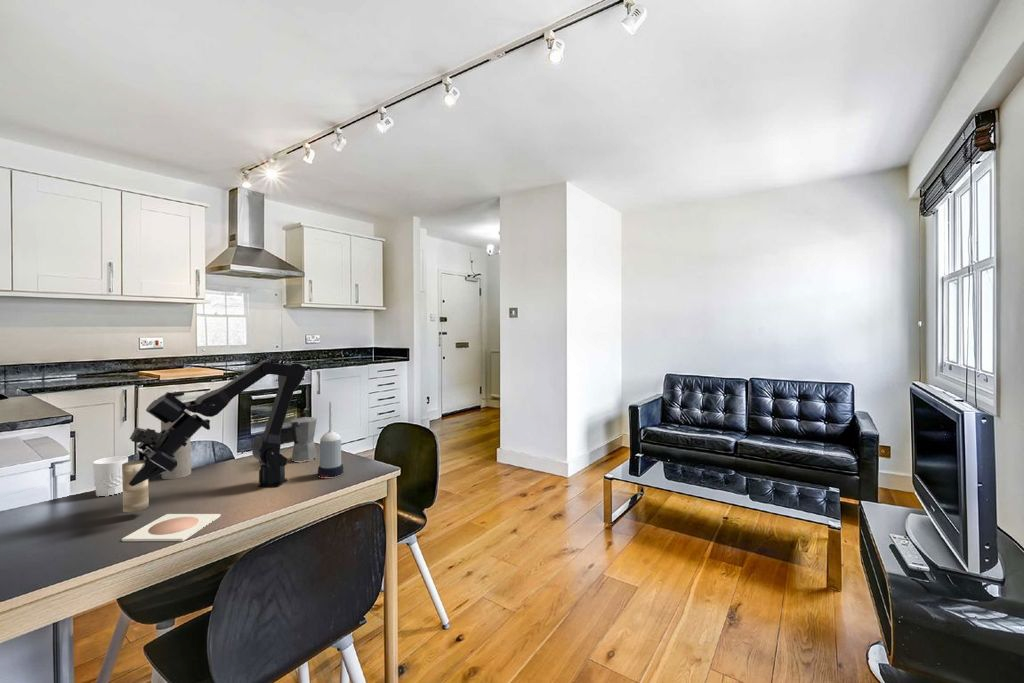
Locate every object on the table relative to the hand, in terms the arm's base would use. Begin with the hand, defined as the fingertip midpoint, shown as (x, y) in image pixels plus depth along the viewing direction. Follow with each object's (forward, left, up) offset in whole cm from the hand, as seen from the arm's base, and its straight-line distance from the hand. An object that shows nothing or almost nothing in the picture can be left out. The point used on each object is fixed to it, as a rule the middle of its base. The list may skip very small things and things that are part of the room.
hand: (128, 482), depth 117 cm
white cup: (+20, -18, -9) cm, 29 cm away
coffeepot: (-22, -52, -9) cm, 57 cm away
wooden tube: (-1, -1, -7) cm, 7 cm away
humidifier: (-39, -35, -9) cm, 53 cm away
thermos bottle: (+12, -34, -9) cm, 38 cm away
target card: (-16, +6, -9) cm, 19 cm away
